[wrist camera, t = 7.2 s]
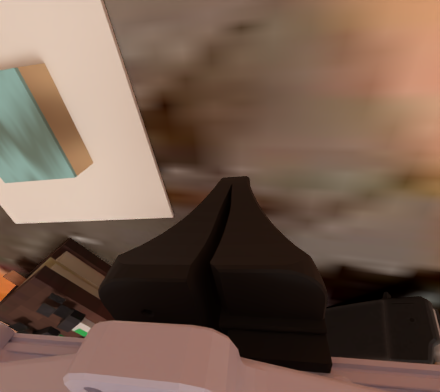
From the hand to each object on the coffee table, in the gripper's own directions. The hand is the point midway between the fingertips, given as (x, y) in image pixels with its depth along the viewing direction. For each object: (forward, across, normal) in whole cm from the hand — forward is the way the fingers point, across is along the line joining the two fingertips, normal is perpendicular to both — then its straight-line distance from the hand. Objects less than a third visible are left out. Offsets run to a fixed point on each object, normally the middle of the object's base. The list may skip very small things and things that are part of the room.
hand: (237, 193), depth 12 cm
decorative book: (+10, +25, +28) cm, 39 cm away
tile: (+8, +16, -2) cm, 18 cm away
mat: (+10, +20, -2) cm, 23 cm away
